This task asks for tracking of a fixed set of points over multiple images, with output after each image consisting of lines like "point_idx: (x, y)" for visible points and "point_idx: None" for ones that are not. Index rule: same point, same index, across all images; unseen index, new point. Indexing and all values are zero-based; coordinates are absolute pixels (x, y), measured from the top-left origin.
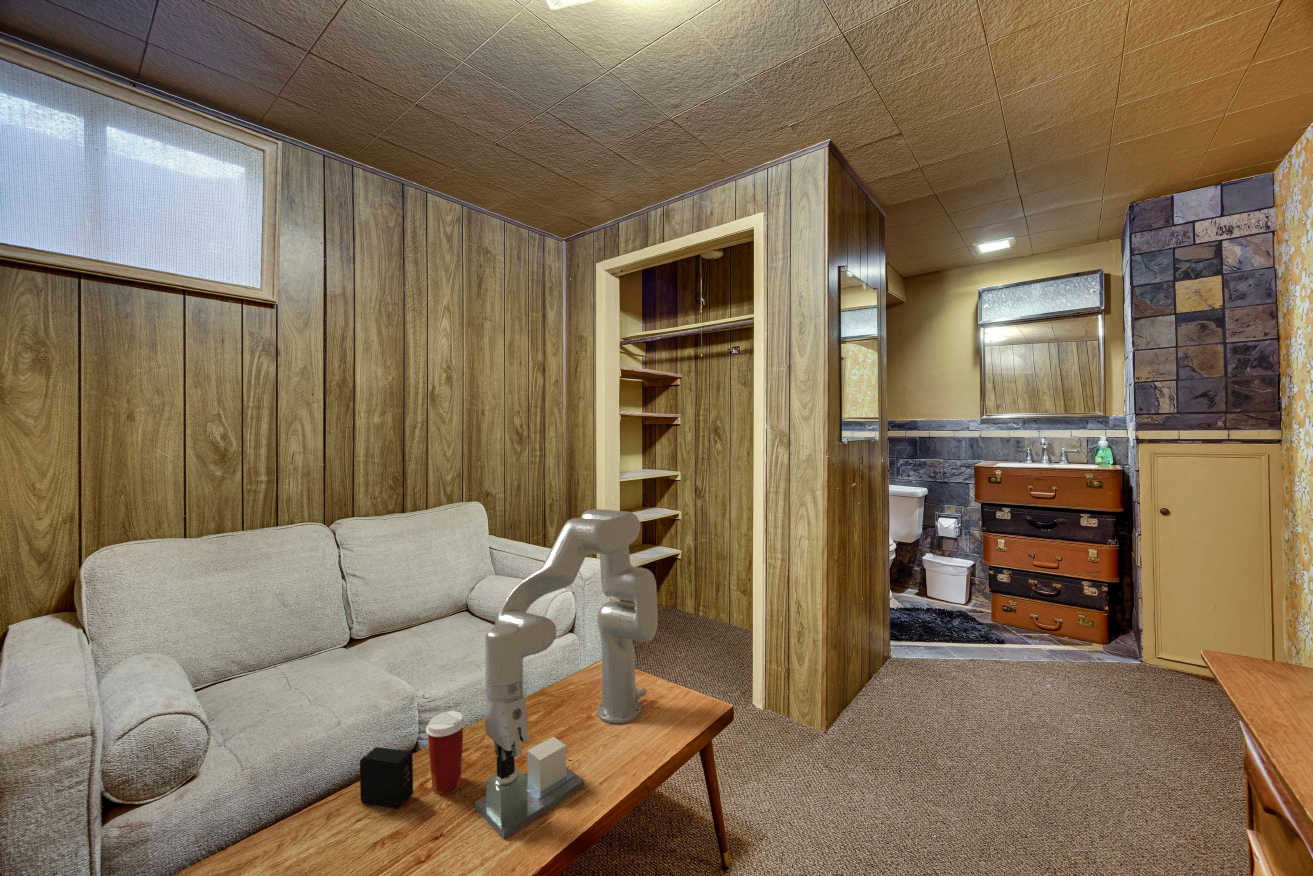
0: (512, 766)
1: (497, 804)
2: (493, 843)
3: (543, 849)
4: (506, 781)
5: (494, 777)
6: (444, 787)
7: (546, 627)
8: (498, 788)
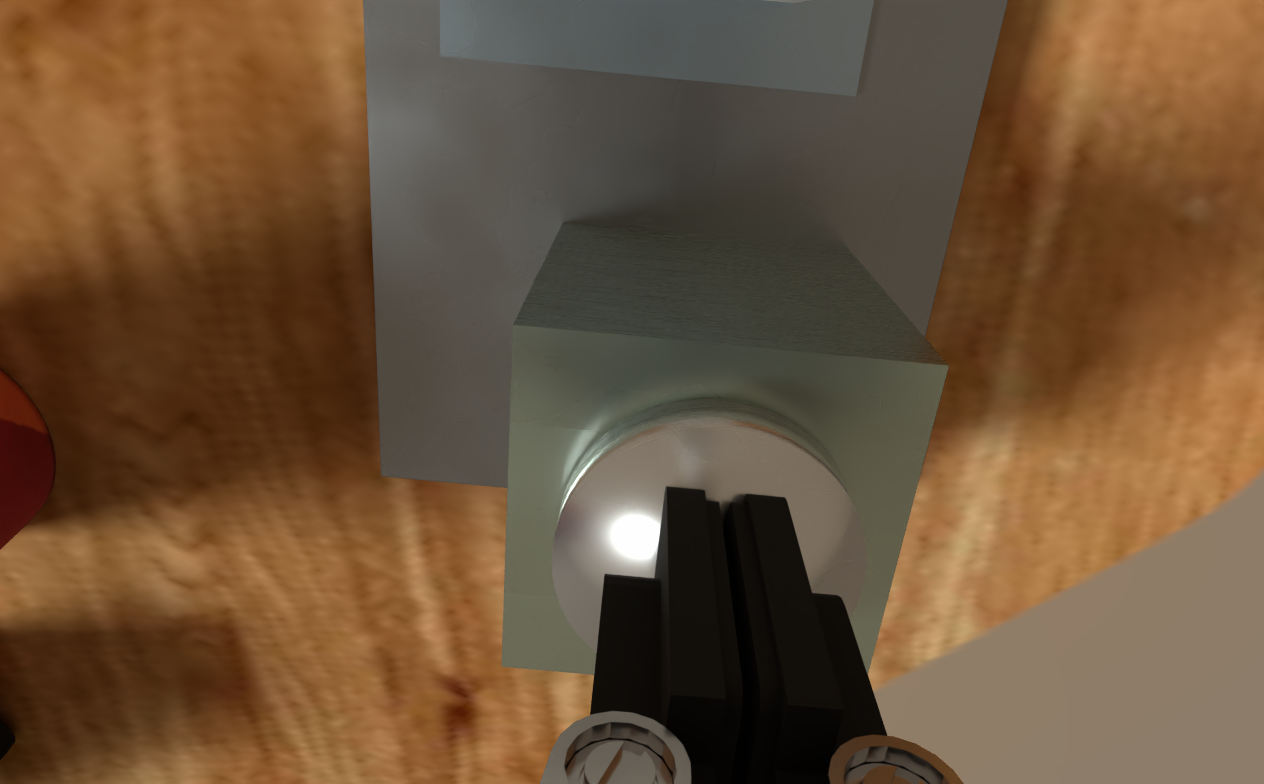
0: (856, 643)
1: None
2: None
3: (1220, 375)
4: None
5: (555, 597)
6: (13, 530)
7: None
8: None
